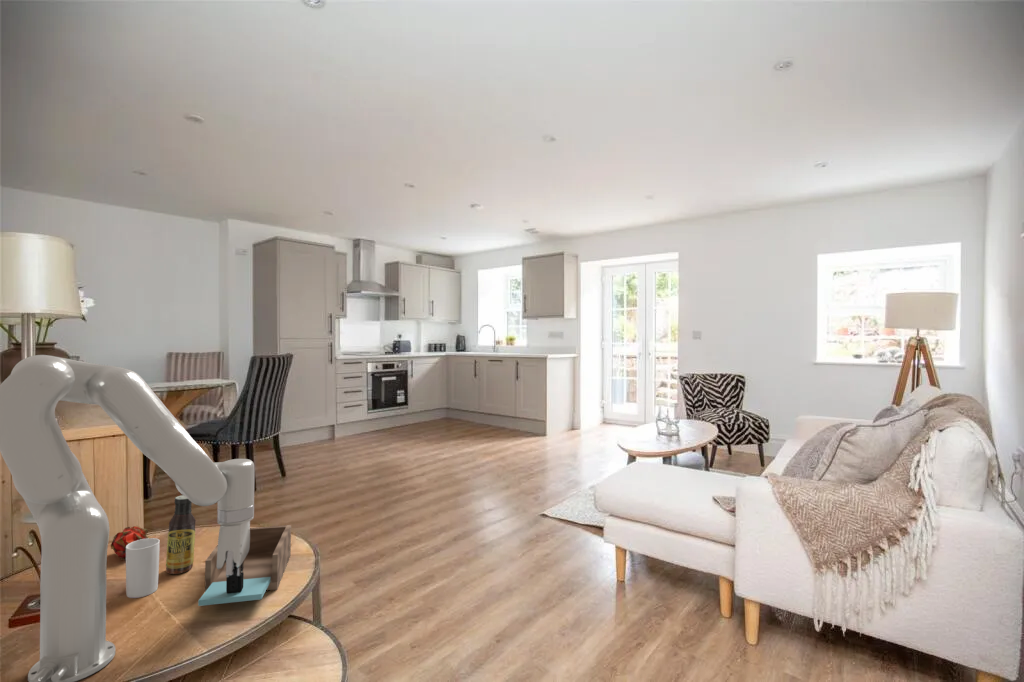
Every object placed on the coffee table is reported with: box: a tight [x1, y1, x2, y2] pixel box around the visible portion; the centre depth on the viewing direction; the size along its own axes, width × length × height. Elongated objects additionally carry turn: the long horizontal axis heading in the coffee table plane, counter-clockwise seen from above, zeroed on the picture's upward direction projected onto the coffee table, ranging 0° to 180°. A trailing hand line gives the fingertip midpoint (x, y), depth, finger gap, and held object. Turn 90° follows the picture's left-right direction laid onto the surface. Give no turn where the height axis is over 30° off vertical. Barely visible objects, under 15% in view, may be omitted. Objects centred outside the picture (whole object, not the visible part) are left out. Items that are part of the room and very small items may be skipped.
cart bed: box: [204, 524, 292, 592], centre depth 133 cm, size 20×16×9 cm
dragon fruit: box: [110, 525, 150, 561], centre depth 143 cm, size 8×8×12 cm
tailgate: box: [197, 577, 271, 607], centre depth 118 cm, size 2×13×10 cm
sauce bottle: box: [165, 494, 197, 575], centre depth 135 cm, size 7×6×20 cm
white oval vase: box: [125, 537, 160, 599], centre depth 125 cm, size 10×7×12 cm, turn 24°
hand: (234, 591), depth 117 cm, fingers closed
